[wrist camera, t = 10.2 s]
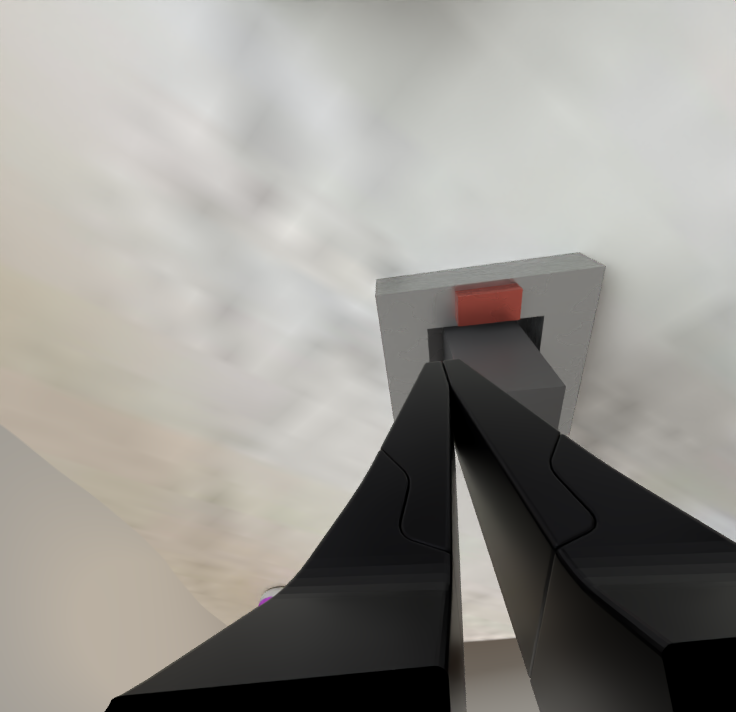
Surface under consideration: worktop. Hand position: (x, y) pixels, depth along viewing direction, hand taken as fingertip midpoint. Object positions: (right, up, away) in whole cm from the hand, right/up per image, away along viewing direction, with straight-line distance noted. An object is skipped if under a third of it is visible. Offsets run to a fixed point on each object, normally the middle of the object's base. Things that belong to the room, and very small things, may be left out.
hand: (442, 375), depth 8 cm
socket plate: (+5, +1, +13) cm, 14 cm away
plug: (+5, +1, +13) cm, 14 cm away
